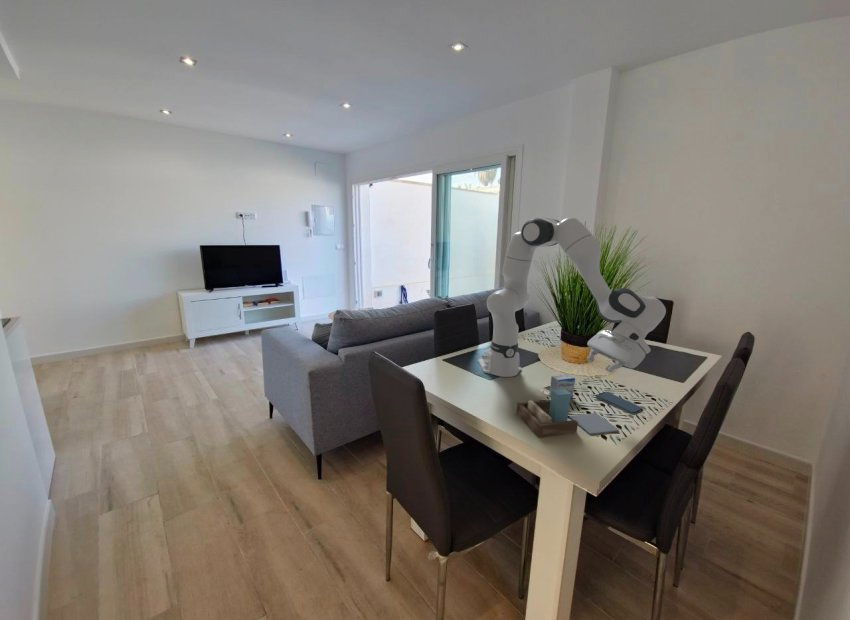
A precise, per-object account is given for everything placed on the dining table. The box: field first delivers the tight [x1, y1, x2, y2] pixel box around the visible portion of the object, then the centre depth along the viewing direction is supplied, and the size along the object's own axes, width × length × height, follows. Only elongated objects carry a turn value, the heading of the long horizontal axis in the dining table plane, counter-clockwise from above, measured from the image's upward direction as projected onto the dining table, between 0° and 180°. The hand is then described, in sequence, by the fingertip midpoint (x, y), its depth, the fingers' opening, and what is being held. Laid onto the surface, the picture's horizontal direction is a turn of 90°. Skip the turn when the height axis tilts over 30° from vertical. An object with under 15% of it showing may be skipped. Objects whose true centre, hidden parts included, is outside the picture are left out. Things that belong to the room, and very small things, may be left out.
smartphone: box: [595, 391, 644, 415], centre depth 134 cm, size 8×2×15 cm
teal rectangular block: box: [548, 389, 571, 423], centre depth 119 cm, size 4×5×11 cm
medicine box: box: [549, 374, 576, 399], centre depth 137 cm, size 8×4×9 cm, turn 106°
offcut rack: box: [515, 399, 579, 438], centre depth 119 cm, size 15×14×4 cm
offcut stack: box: [527, 399, 552, 424], centre depth 118 cm, size 9×4×6 cm, turn 13°
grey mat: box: [568, 412, 620, 436], centre depth 119 cm, size 11×11×1 cm
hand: (597, 365), depth 119 cm, fingers open, 8 cm apart
